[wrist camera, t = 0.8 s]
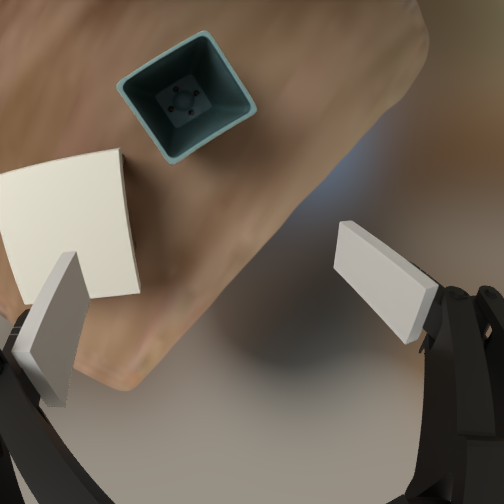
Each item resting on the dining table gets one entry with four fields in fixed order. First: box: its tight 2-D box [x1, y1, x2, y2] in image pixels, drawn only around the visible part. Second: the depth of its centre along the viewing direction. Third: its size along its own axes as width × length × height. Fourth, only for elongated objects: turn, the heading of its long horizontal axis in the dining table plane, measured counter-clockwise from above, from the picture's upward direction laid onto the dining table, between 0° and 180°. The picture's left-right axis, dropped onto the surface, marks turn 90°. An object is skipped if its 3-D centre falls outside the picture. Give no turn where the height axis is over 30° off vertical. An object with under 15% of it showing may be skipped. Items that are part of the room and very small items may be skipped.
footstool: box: [0, 148, 141, 305], centre depth 27 cm, size 14×14×8 cm
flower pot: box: [116, 30, 257, 165], centre depth 25 cm, size 9×9×9 cm
